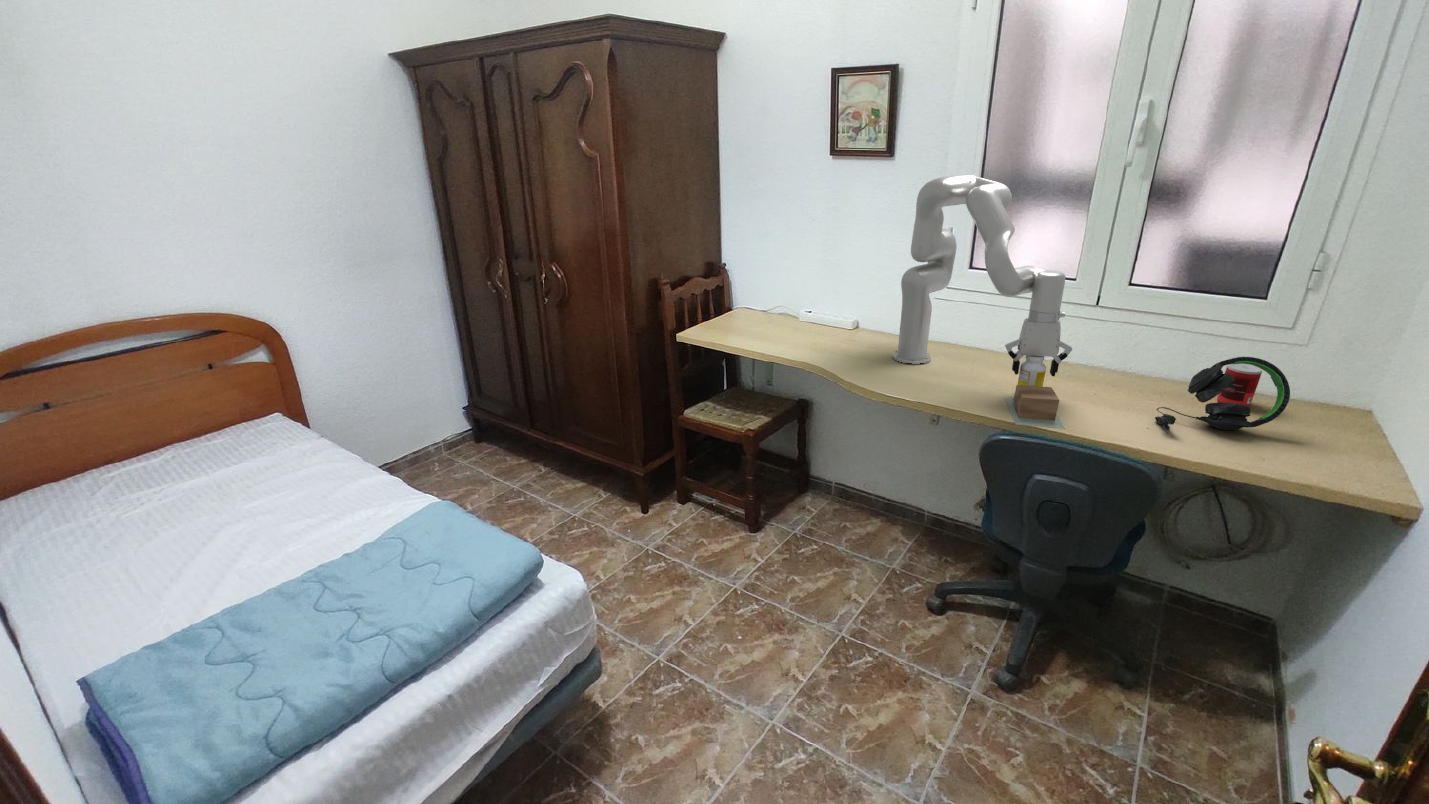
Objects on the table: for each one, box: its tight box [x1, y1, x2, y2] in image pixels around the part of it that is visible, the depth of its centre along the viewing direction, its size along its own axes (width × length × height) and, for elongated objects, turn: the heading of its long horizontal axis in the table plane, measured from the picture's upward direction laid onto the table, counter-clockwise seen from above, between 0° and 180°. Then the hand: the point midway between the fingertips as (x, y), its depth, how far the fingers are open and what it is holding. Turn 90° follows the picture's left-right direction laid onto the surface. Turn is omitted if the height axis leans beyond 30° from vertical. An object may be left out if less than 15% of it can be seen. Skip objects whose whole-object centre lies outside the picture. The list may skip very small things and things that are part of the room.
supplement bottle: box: [1016, 356, 1047, 387], centre depth 185 cm, size 7×7×13 cm
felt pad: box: [1004, 397, 1066, 429], centre depth 176 cm, size 18×12×1 cm, turn 166°
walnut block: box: [1013, 384, 1060, 421], centre depth 175 cm, size 9×9×6 cm
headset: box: [1154, 356, 1291, 432], centre depth 163 cm, size 18×14×29 cm
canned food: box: [1216, 364, 1263, 407], centre depth 177 cm, size 8×8×11 cm
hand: (1033, 373), depth 184 cm, fingers open, 9 cm apart
